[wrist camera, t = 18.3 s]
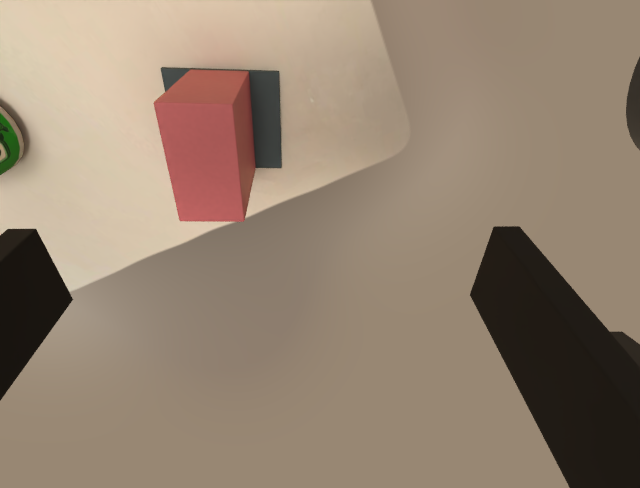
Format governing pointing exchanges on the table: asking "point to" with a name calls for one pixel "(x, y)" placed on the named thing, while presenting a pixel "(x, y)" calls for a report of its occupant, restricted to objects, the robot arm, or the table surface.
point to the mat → (254, 111)
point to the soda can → (9, 142)
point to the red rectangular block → (209, 143)
